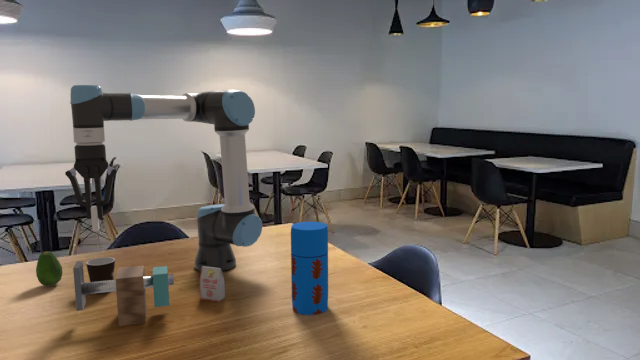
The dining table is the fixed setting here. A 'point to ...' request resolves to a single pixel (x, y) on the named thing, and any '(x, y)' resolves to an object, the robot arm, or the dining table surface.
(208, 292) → the white paper food packet
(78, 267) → the shaft
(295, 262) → the thermos
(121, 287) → the bearing block
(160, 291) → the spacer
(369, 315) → the dining table surface
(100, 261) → the coffee mug
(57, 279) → the avocado
